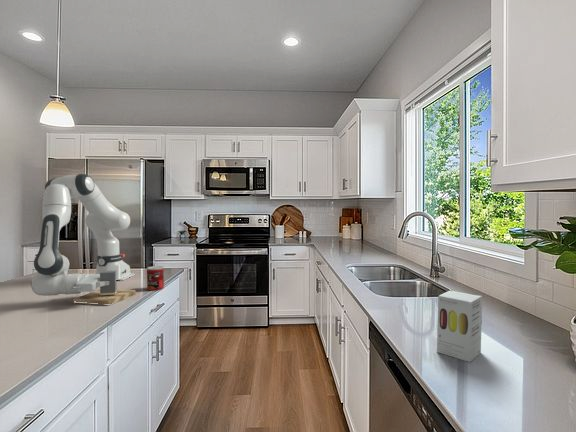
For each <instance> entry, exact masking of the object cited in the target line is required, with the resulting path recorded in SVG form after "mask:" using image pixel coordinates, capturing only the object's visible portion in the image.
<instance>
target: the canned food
mask: <svg viewBox="0 0 576 432" xmlns="http://www.w3.org/2000/svg"><path fill="white" fill-rule="evenodd" d="M164 272H165V271H164V266H162V265H154V266H148V267H146V287H147V290H148V291H151V292H152V291H161V290H163V289H164V287H165V282H164V281H165V279H164V277H165V275H164Z"/></svg>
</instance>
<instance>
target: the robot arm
mask: <svg viewBox="0 0 576 432" xmlns="http://www.w3.org/2000/svg"><path fill="white" fill-rule="evenodd" d="M74 198H77V199H78V201H79V202H80V203H81V204H82V206H83V207H84V209H85V211H86V212H87V213H88V214H87V215H86V216H85V219H84V220H85V221H84V222H85V226H86V227H87V228H88V229H89V230H90V231H91V232H92V233H93V235H94V238H95V240H96V245H97V256H96V262H97V264H96V268H95V273H85V272H80V273H69V270H70V266H71V265H70V260H69V258H68V257H67V256H65V255H63V254H61V252H60V251H59V244H60V243H59V241H60V231H61V230H62V228H63V227H65V226H66V225H68V224H69V223H70V221H71V216H72V199H74ZM41 213H42V214H41V216H42V225H41V226H42V227H41V234H40V242H39V250H38V251H37V254H36V256H35V257H34V260H33V267H34V269H35V271H36V272H37V273H36V275H35V276H34V277H33V278H31V282H30V285H31V289H32V290H31V291H32V292H33V293H34V294H35V295H38V296H41V297H42V296H43V297H44V296H46V297H49V296H58V295H61V294H62V295H77V294H78V295H79V294H81V293H83V292H84V293H85V292H87V293H88V292H89V293H91V292H94V291H97V289H98V287H99V288H100V287H101V286H105V285H109V284H110V281H101V282H100V272H102V271H115V270H116V280H120V281H125V280H128V279H129V277H130V278H132V277H134V276H135V275H136V273H134V272H131V266H130V265H129V264H128V263H126V262H125V261H124V260H123V258H125V256H126V255H125V253H121V252H120V250H121V249H120V240H119V239H118V238H117V237H115V236H114V234H113V233H112V231H113V232H114V231H116V232H117V231H123V230H127V229H128V228H129V227H130V224H131V217H130V215H129V214H128V213H127V212H125V211H122V210H121V209H119V208H117V207H116V206H114V205H113V204H112V203H111V202H110V201H109V200H108V199H107V198H106V197H105V195H104V193H103V192H102V191H101V189H100V187H98V185H97V184H96V183H95V181H94V179H93V178H92V176H90V175H89V174H86V173H79V174H69V175H67V174H66V175H65V176H59V177H54V178H51V179H48V180H47V181H46V182H45V184H44V194H43V199H42V211H41Z"/></svg>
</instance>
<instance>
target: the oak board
mask: <svg viewBox="0 0 576 432" xmlns="http://www.w3.org/2000/svg"><path fill="white" fill-rule="evenodd" d="M136 292H137V291H136V290H135V289H134V290H133V289H132V290H131V289H117V292H116V294H113V295H100V289H98V290H97V289H96V290H95V291H90V292H89V293H86V294H83V295H81V296H77V297H74V298H72V302H73V301H76V302H87V303H98V304H112V303H114V302H117V301H119V302H121V301H120V300H122V301H124V300H125V298H126V299H129V298H131V297H133V295H134V296H135V295H136ZM130 296H131V297H130ZM128 297H129V298H128ZM123 299H124V300H123ZM117 303H118V302H117ZM114 304H115V303H114ZM112 305H113V304H112Z"/></svg>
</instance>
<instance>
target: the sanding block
mask: <svg viewBox="0 0 576 432" xmlns="http://www.w3.org/2000/svg"><path fill="white" fill-rule="evenodd" d="M101 281H110V284H109V285H105V286H101V287H99V290H100V295H113V294H116V292H117V290H118V289H117V288H118V287H117V284H118V283H117V282H118V281H116V270H115V271H102V272H100V282H101Z"/></svg>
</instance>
